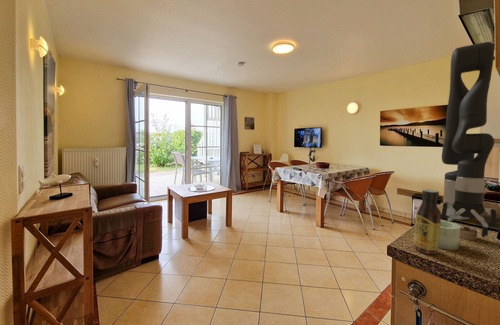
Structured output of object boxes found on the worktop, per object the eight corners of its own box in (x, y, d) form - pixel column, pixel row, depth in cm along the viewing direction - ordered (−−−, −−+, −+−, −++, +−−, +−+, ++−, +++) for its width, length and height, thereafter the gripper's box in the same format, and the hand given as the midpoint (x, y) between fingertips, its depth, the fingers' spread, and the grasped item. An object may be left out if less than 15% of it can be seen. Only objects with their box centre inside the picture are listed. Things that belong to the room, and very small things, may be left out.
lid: (456, 233, 88) (456, 223, 87) (476, 237, 84) (477, 227, 84) (455, 237, 84) (456, 227, 83) (476, 242, 80) (477, 231, 80)
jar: (426, 236, 85) (427, 217, 84) (459, 243, 79) (460, 223, 78) (422, 244, 79) (423, 224, 78) (458, 252, 72) (459, 231, 72)
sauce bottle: (409, 246, 77) (411, 188, 75) (428, 246, 77) (431, 188, 75) (423, 256, 70) (426, 192, 69) (444, 256, 70) (448, 192, 69)
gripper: (497, 190, 80) (494, 235, 81) (444, 185, 90) (441, 226, 91) (499, 194, 75) (495, 242, 76) (442, 188, 85) (440, 231, 86)
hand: (466, 233), depth 84 cm, fingers open, 8 cm apart
